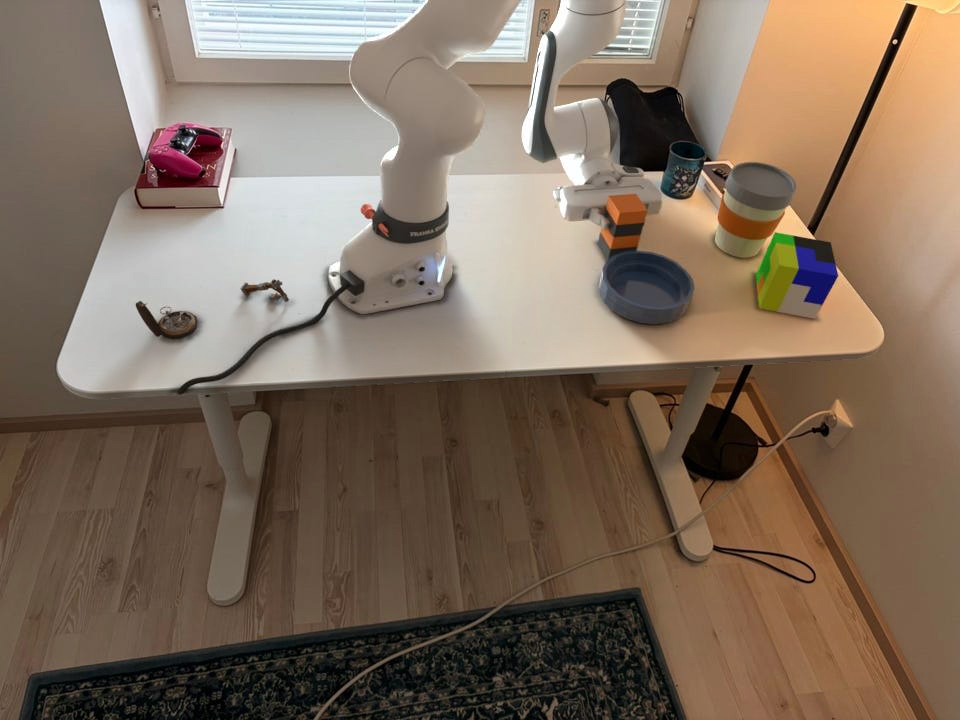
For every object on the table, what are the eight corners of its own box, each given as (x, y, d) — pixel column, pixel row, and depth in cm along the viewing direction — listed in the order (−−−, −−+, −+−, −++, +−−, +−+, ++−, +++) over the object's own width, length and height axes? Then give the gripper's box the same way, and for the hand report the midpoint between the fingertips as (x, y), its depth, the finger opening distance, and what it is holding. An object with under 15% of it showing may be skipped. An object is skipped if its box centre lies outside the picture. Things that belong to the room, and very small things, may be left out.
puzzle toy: (814, 318, 131) (838, 275, 124) (759, 308, 132) (779, 265, 124) (808, 284, 138) (830, 242, 130) (755, 274, 139) (774, 232, 131)
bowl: (638, 337, 124) (643, 320, 121) (580, 282, 133) (583, 265, 130) (706, 308, 131) (713, 291, 128) (646, 258, 140) (651, 241, 137)
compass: (206, 329, 118) (196, 295, 112) (159, 350, 114) (147, 316, 108) (182, 303, 121) (172, 269, 116) (136, 323, 117) (124, 289, 112)
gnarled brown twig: (290, 303, 122) (277, 282, 119) (253, 308, 125) (239, 287, 123) (294, 296, 123) (281, 275, 121) (258, 301, 127) (244, 281, 124)
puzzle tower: (607, 260, 138) (619, 212, 130) (597, 243, 142) (608, 195, 134) (634, 258, 139) (647, 210, 132) (623, 240, 143) (636, 193, 135)
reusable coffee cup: (695, 244, 144) (718, 179, 133) (721, 218, 151) (745, 154, 141) (754, 271, 139) (783, 206, 128) (778, 243, 147) (807, 178, 136)
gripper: (552, 174, 140) (575, 215, 131) (649, 167, 145) (678, 207, 135) (548, 202, 145) (570, 243, 135) (641, 194, 149) (669, 234, 140)
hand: (625, 225), depth 135 cm, fingers closed on puzzle tower, 5 cm apart
